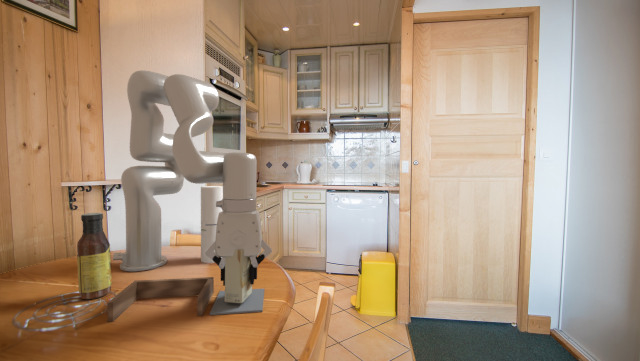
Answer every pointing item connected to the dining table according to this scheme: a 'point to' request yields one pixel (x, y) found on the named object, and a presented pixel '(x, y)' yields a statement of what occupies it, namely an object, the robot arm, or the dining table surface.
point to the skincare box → (237, 277)
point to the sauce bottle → (93, 258)
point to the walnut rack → (162, 293)
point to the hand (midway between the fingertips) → (239, 282)
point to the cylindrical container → (209, 218)
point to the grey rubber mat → (239, 304)
